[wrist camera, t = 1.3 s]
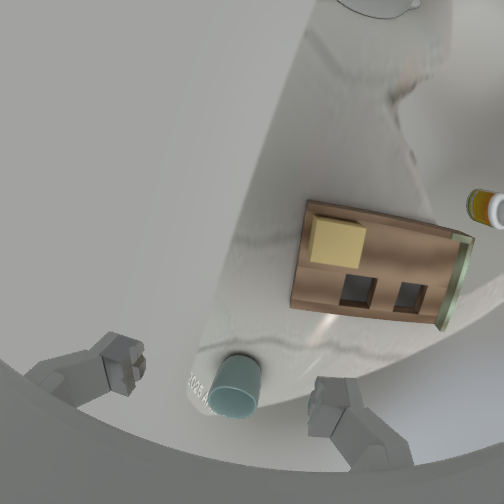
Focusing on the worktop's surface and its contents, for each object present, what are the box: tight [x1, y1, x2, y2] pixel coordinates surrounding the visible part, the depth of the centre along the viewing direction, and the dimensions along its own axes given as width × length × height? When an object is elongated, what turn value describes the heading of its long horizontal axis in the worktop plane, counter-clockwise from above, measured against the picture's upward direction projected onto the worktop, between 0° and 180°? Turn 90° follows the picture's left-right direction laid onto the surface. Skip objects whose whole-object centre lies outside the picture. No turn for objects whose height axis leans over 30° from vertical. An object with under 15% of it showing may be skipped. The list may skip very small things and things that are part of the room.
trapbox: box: [290, 200, 475, 332], centre depth 36 cm, size 16×26×6 cm, turn 83°
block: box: [308, 214, 366, 269], centre depth 34 cm, size 5×6×5 cm
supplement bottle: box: [466, 189, 504, 230], centre depth 29 cm, size 5×5×10 cm
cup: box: [208, 355, 261, 419], centre depth 43 cm, size 8×8×10 cm
